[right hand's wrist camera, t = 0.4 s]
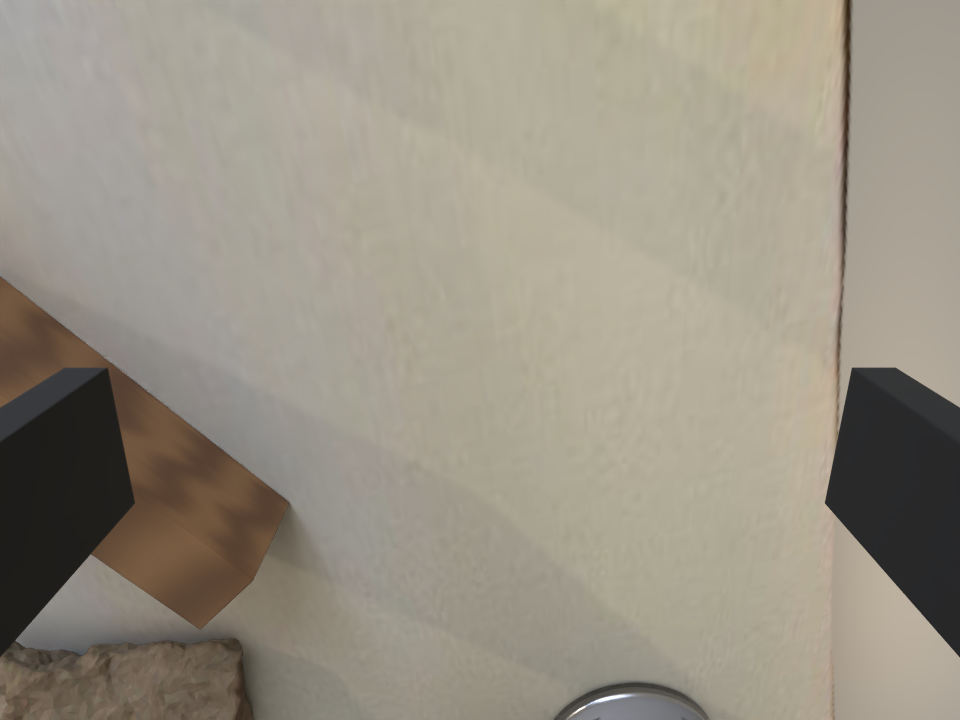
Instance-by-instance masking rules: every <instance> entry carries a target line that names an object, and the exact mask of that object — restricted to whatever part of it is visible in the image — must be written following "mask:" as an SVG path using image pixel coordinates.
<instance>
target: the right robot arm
mask: <svg viewBox="0 0 960 720" xmlns="http://www.w3.org/2000/svg"><path fill="white" fill-rule="evenodd" d="M134 504H135V500H134V495H133V490H132V485H131V480H130V475H129V470H128V465H127V460H126V455H125V450H124V445H123V440H122V435H121V430H120V425H119V420H118V415H117V410H116V406H115V401H114V396H113V391H112V386H111V381H110V376H109V371H108V368H63V369H62V370H60V371H58V372H57V373H55V374H54V375H52V376H50V377H49V378H47V379H46V380H44V381H42V382H41V383H39V384H37V385H36V386H34V387H33V388H31V389H29V390H28V391H26V392H25V393H23V394H21V395H20V396H18V397H17V398H15V399H13V400H12V401H10V402H9V403H7V404H5V405H4V406H2V407H0V657H1V656H2V655H3V653H4V652H5V651H6V650H7V649H8V648H9V647H10V645H11V644H12V643H13V642H14V641H15V640H16V639H17V638H18V636H19V635H20V634H21V633H22V632H23V631H24V630H25V628H26V627H27V626H28V625H29V624H30V623H31V622H32V620H33V619H34V618H35V617H36V616H37V615H38V614H39V612H40V611H41V610H42V609H43V608H44V607H45V606H46V604H47V603H48V602H49V601H50V600H51V599H52V598H53V596H54V595H55V594H56V593H57V592H58V591H59V590H60V588H61V587H62V586H63V585H64V584H65V583H66V582H67V580H68V579H69V578H70V577H71V576H72V575H73V574H74V572H75V571H76V570H77V569H78V568H79V567H80V566H81V564H82V563H83V562H84V561H85V560H86V559H87V558H88V556H89V555H90V554H91V553H92V552H93V551H94V550H95V548H96V547H97V546H98V545H99V544H100V543H101V542H102V540H103V539H104V538H105V537H106V536H107V535H108V534H109V532H110V531H111V530H112V529H113V528H114V527H115V526H116V524H117V523H118V522H119V521H120V520H121V519H122V518H123V516H124V515H125V514H126V513H127V512H128V511H129V510H130V508H131V507H132V506H133V505H134ZM825 504H826V505H827V506H828V507H829V508H830V510H831V511H832V512H833V513H834V514H835V515H836V516H837V518H838V519H839V520H840V521H841V522H842V523H843V524H844V526H845V527H846V528H847V529H848V530H849V531H850V532H851V534H852V535H853V536H854V537H855V538H856V539H857V540H858V542H859V543H860V544H861V545H862V546H863V547H864V548H865V550H866V551H867V552H868V553H869V554H870V555H871V556H872V558H873V559H874V560H875V561H876V562H877V563H878V564H879V566H880V567H881V568H882V569H883V570H884V571H885V572H886V573H887V575H888V576H889V577H890V578H891V579H892V580H893V582H894V583H895V584H896V585H897V586H898V587H899V588H900V590H901V591H902V592H903V593H904V594H905V595H906V596H907V598H908V599H909V600H910V601H911V602H912V603H913V604H914V606H915V607H916V608H917V609H918V610H919V611H920V612H921V613H922V615H923V616H924V617H925V618H926V619H927V620H928V621H929V623H930V624H931V625H932V626H933V627H934V628H935V629H936V631H937V632H938V633H939V634H940V635H941V636H942V638H943V639H944V640H945V641H946V642H947V643H948V644H949V645H950V647H951V648H952V649H953V650H954V651H955V652H956V653H957V655H958V656H959V657H960V408H959V407H958V406H956V405H955V404H953V403H951V402H950V401H948V400H947V399H945V398H943V397H942V396H940V395H939V394H937V393H935V392H934V391H932V390H931V389H929V388H927V387H926V386H924V385H922V384H921V383H919V382H918V381H916V380H914V379H913V378H911V377H910V376H908V375H906V374H905V373H903V372H902V371H900V370H898V369H897V368H852V371H851V376H850V381H849V386H848V391H847V396H846V401H845V405H844V411H843V416H842V420H841V425H840V430H839V435H838V440H837V445H836V450H835V455H834V460H833V465H832V470H831V475H830V480H829V485H828V490H827V495H826V500H825ZM554 720H709V718H708V717H707V715H706V714H705V712H704V711H703V710H702V709H701V707H700V706H698V705H697V704H696V703H695V702H694V701H693V700H691V699H690V698H688V697H687V696H685V695H683V694H681V693H679V692H677V691H675V690H672V689H670V688H666V687H663V686H658V685H653V684H645V683H626V684H618V685H612V686H608V687H604V688H600V689H598V690H595V691H592V692H590V693H588V694H585V695H583V696H582V697H580V698H578V699H576V700H575V701H573V702H572V703H570V704H569V705H568V706H567V707H565V708H564V709H563V710H562V711H561V712H560V713H559V714H558V716H557V717H556V718H555V719H554Z"/></svg>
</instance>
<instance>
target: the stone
mask: <svg viewBox="0 0 960 720" xmlns="http://www.w3.org/2000/svg"><path fill="white" fill-rule="evenodd" d="M242 655H243V651H242V647H241V645H240V643H239V641H238V640H237V639H235V638H234V639H225V640H218V639H214V640H211V641H203V642H198V643H192V644H184V643H176V642H173V641H169V640H165V641H160V642H152V643H150V644H147V645H133V644H130V643H125V644H121V645H119V644H100V645H92V646H90V647H89V649H88V651H87V652H86V653H85V654H84V655H83V656H78V655H77V653H73V652H70V651H67V650H54V651H52V652H51V651H47V650H43V649H33V648H28V649H26V648H25V647H23V646H21V645H20V644H19V643H17V642H15V641H14V642H13V643H12V644H11V645H10V647H9V648H8V649H7V650H6V651H5V652H4V653H3V655H2V656H1V657H0V720H253V717H252V710H251V705H250V703H249V701H248V699H247V697H246V695H245V682H244V675H243V665H242V662H241V658H242Z"/></svg>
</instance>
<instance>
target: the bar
mask: <svg viewBox="0 0 960 720" xmlns="http://www.w3.org/2000/svg"><path fill="white" fill-rule="evenodd" d="M63 368H108V371H109V376H110V381H111V386H112V391H113V396H114V401H115V406H116V410H117V415H118V420H119V425H120V430H121V435H122V440H123V445H124V450H125V455H126V460H127V465H128V470H129V475H130V480H131V485H132V490H133V495H134V500H135V504H134V505H133V506H132V507H131V508H130V510H129V511H128V512H127V513H126V514H125V515H124V516H123V518H122V519H121V520H120V521H119V522H118V523H117V524H116V526H115V527H114V528H113V529H112V530H111V531H110V532H109V534H108V535H107V536H106V537H105V538H104V539H103V540H102V542H101V543H100V544H99V545H98V546H97V547H96V548H95V550H94V551H93V552H92V553H91V554H92V555H93V556H94V557H96V558H97V559H99V560H100V561H102V562H103V563H105V564H106V565H107V566H109V567H110V568H112V569H113V570H115V571H116V572H118V573H119V574H120V575H122V576H123V577H125V578H126V579H128V580H129V581H131V582H132V583H134V584H135V585H136V586H138V587H139V588H141V589H142V590H144V591H145V592H147V593H148V594H149V595H151V596H152V597H154V598H155V599H157V600H158V601H160V602H161V603H162V604H164V605H165V606H167V607H168V608H170V609H171V610H173V611H174V612H175V613H177V614H178V615H180V616H181V617H183V618H184V619H186V620H187V621H189V622H190V623H191V624H193V625H194V626H196V627H197V628H199V629H201V628H203V627H204V626H205V625H206V624H207V623H208V622H209V621H210V620H211V619H212V618H213V617H214V616H215V615H217V614H218V613H219V612H220V611H221V610H222V609H223V608H224V607H225V606H226V605H227V604H228V603H229V602H231V601H232V600H233V599H234V598H235V597H236V596H237V595H238V594H239V593H240V592H241V591H242V590H243V589H245V588H246V587H247V586H248V585H249V584H250V583H251V582H252V581H253V580H254V577H255V575H256V573H257V571H258V569H259V567H260V565H261V563H262V560H263V558H264V556H265V554H266V552H267V550H268V548H269V545H270V543H271V541H272V539H273V537H274V535H275V533H276V531H277V528H278V526H279V524H280V522H281V520H282V518H283V516H284V514H285V511H286V509H287V507H288V505H289V502H288V501H287V500H286V499H284V498H283V497H282V496H280V495H279V494H278V493H277V492H275V491H274V490H273V489H271V488H270V487H269V486H268V485H266V484H265V483H264V482H262V481H261V480H260V479H259V478H257V477H256V476H255V475H254V474H252V473H251V472H250V471H248V470H247V469H246V468H245V467H243V466H242V465H241V464H239V463H238V462H237V461H236V460H234V459H233V458H232V457H230V456H229V455H228V454H227V453H225V452H224V451H223V450H222V449H220V448H219V447H218V446H216V445H215V444H214V443H213V442H211V441H210V440H209V439H207V438H206V437H205V436H204V435H202V434H201V433H200V432H198V431H197V430H196V429H195V428H193V427H192V426H191V425H189V424H188V423H187V422H186V421H184V420H183V419H182V418H181V417H179V416H178V415H177V414H175V413H174V412H173V411H172V410H170V409H169V408H168V407H166V406H165V405H164V404H163V403H161V402H160V401H159V400H157V399H156V398H155V397H154V396H152V395H151V394H150V393H148V392H147V391H146V390H145V389H143V388H142V387H141V386H140V385H138V384H137V383H136V382H134V381H133V380H132V379H131V378H129V377H128V376H127V375H125V374H124V373H123V372H122V371H120V370H119V369H118V368H116V367H115V366H114V365H113V364H111V363H110V362H109V361H108V360H106V359H105V358H104V357H102V356H101V355H100V354H99V353H97V352H96V351H95V350H93V349H92V348H91V347H90V346H88V345H87V344H86V343H84V342H83V341H82V340H81V339H79V338H78V337H77V336H75V335H74V334H73V333H72V332H70V331H69V330H68V329H67V328H65V327H64V326H63V325H61V324H60V323H59V322H58V321H56V320H55V319H54V318H52V317H51V316H50V315H49V314H47V313H46V312H45V311H43V310H42V309H41V308H40V307H38V306H37V305H36V304H35V303H33V302H32V301H31V300H29V299H28V298H27V297H26V296H24V295H23V294H22V293H20V292H19V291H18V290H17V289H15V288H14V287H13V286H11V285H10V284H9V283H8V282H6V281H5V280H4V279H2V278H1V277H0V407H2V406H4V405H5V404H7V403H9V402H10V401H12V400H13V399H15V398H17V397H18V396H20V395H21V394H23V393H25V392H26V391H28V390H29V389H31V388H33V387H34V386H36V385H37V384H39V383H41V382H42V381H44V380H46V379H47V378H49V377H50V376H52V375H54V374H55V373H57V372H58V371H60V370H62V369H63Z"/></svg>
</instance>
